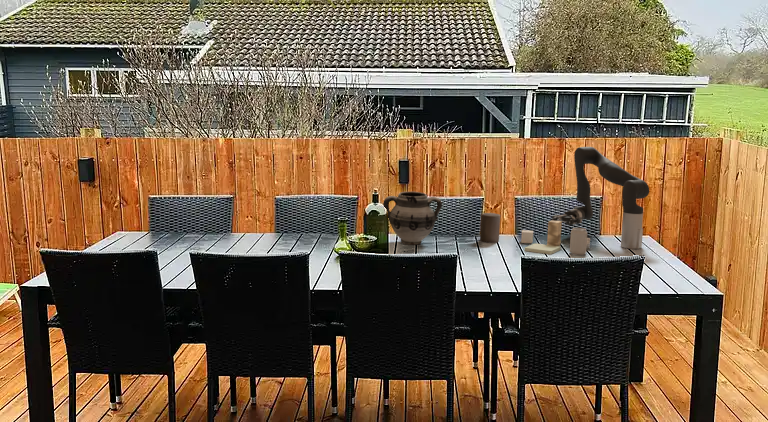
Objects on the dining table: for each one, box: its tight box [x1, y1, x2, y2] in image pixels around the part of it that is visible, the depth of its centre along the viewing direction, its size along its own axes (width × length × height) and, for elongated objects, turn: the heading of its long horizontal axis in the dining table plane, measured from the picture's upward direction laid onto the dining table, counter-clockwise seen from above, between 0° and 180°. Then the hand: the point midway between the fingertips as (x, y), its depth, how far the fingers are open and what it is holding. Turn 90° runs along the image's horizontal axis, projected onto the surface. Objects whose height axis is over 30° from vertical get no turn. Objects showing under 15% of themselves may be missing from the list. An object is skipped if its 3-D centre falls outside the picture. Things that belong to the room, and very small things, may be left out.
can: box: [569, 227, 588, 256], centre depth 321 cm, size 8×8×12 cm
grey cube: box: [520, 229, 534, 244], centre depth 348 cm, size 6×6×6 cm
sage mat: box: [524, 243, 562, 255], centre depth 328 cm, size 13×13×2 cm
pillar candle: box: [479, 211, 501, 244], centre depth 347 cm, size 10×10×15 cm
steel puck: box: [586, 237, 591, 251], centre depth 334 cm, size 6×6×5 cm
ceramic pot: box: [382, 190, 443, 246], centre depth 337 cm, size 29×23×25 cm
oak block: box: [546, 219, 563, 247], centre depth 340 cm, size 5×5×12 cm
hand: (562, 221), depth 348 cm, fingers open, 8 cm apart
